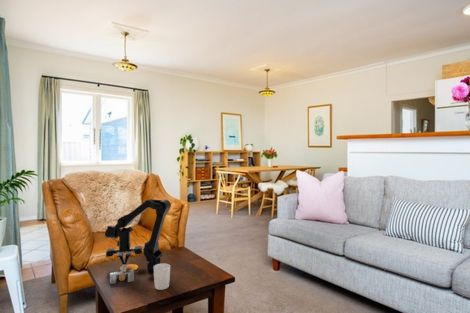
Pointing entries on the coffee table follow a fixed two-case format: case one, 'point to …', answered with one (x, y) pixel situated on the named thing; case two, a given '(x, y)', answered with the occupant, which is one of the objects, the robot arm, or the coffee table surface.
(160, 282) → the white cup
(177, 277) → the coffee table surface
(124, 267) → the white elongated bar
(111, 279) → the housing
